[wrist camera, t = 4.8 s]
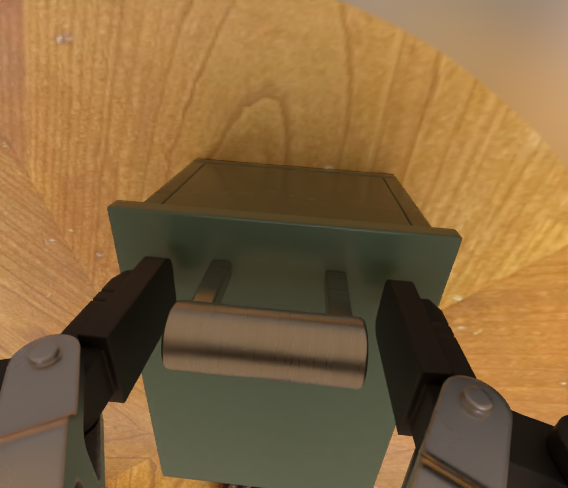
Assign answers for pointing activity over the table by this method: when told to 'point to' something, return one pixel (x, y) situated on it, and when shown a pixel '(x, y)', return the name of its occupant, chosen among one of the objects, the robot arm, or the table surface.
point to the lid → (274, 339)
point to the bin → (291, 192)
